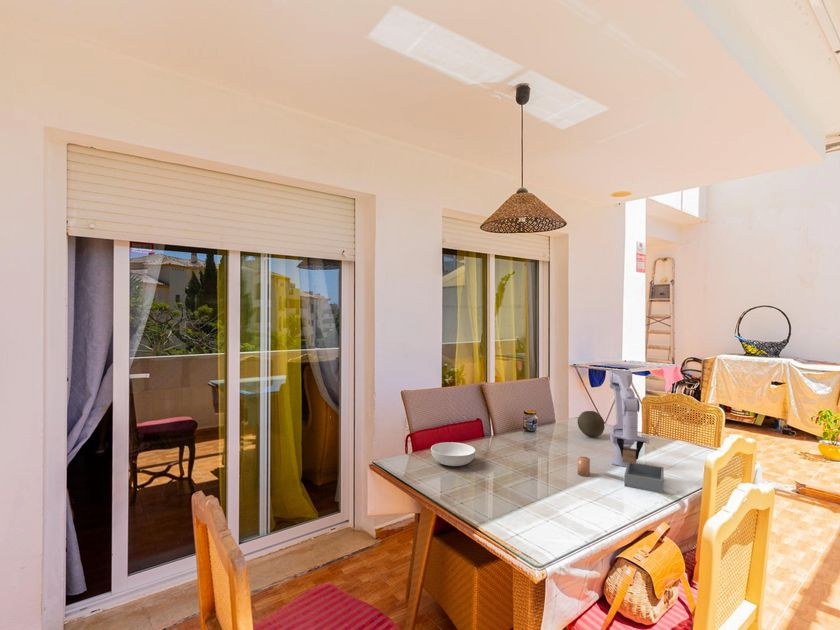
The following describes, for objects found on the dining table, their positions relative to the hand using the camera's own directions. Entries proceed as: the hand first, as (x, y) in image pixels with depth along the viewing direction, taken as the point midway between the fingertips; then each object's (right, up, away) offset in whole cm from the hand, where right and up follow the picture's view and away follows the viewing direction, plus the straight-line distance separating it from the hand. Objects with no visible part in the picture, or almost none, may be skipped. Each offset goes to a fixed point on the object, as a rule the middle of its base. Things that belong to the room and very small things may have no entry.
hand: (629, 457), depth 186 cm
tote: (+3, -9, -6) cm, 11 cm away
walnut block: (0, -2, 0) cm, 2 cm away
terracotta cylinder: (-19, -8, +3) cm, 21 cm away
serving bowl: (-76, -8, +15) cm, 78 cm away
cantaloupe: (+7, -9, +60) cm, 61 cm away
